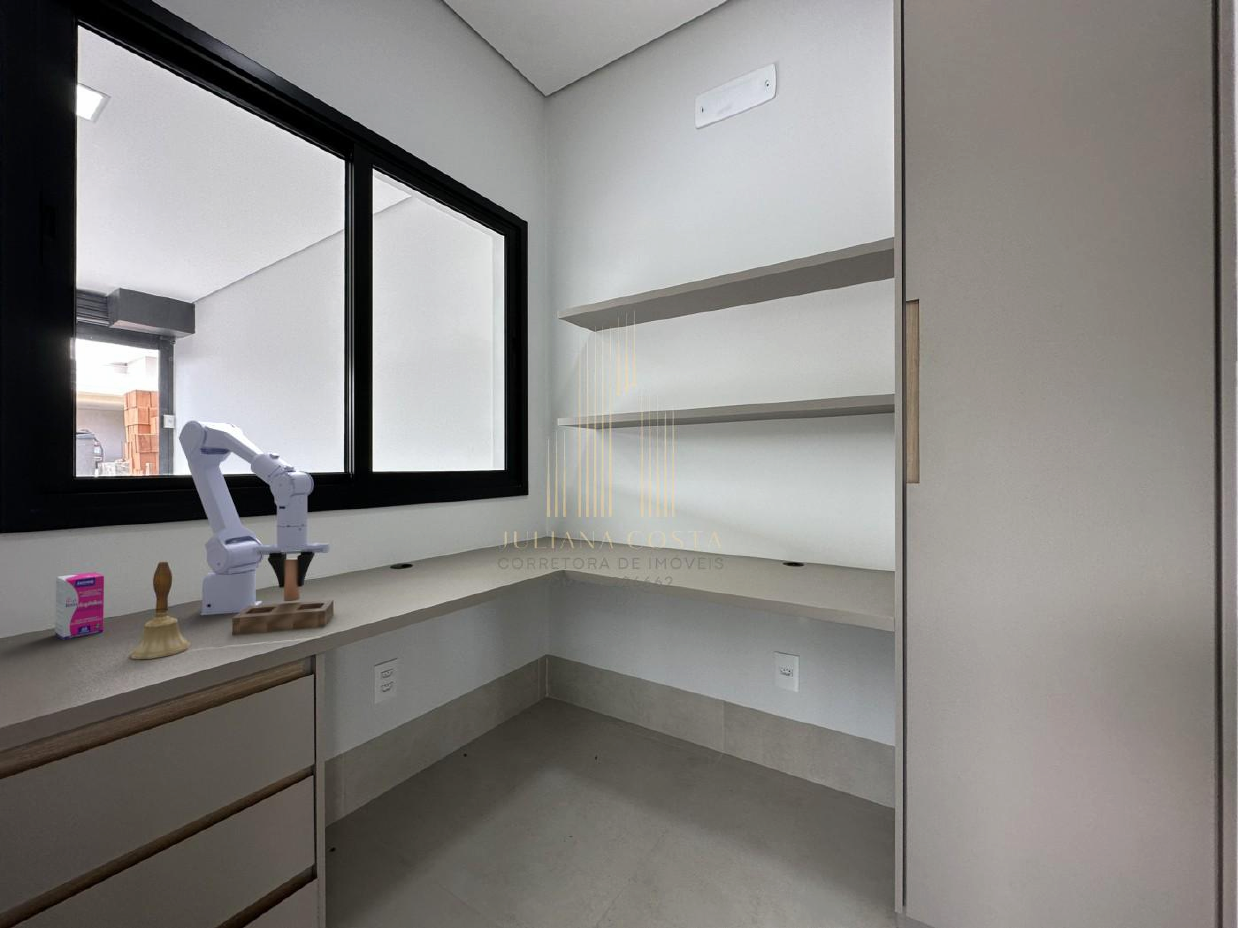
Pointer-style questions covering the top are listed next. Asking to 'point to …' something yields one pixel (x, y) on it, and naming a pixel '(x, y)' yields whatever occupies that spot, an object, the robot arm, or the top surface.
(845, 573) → the top surface
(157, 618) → the hand bell
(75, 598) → the supplement box
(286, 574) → the peg
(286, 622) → the hole block
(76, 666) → the top surface
